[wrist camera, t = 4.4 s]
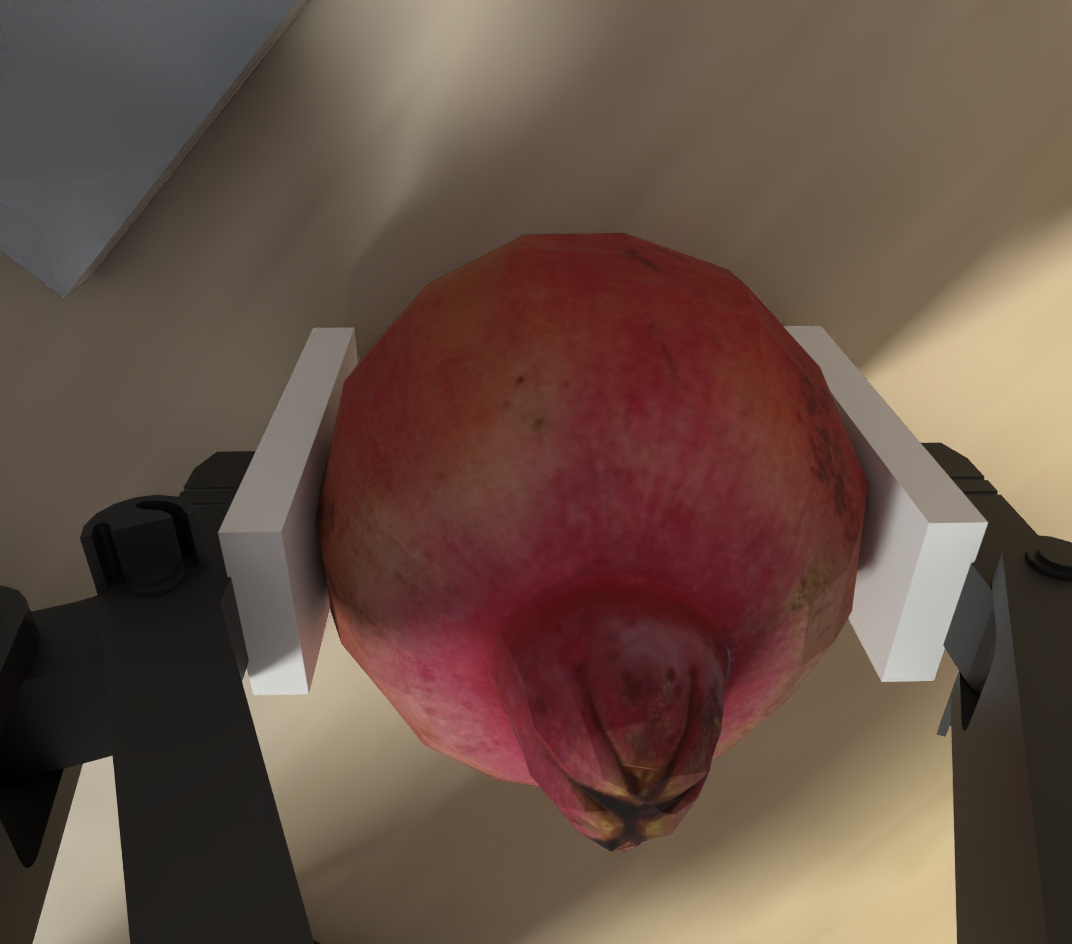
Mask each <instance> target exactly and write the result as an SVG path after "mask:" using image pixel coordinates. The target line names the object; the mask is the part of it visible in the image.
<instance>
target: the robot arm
mask: <svg viewBox="0 0 1072 944" xmlns="http://www.w3.org/2000/svg"><path fill="white" fill-rule="evenodd" d="M783 327H784V328H785V329H786V330H787V331H788V332H789V333H790V334H791V335H792V337H793V338H794V339H795V340H796V341H797V342H798V343H799V344H800V345H801V346H802V348H803V349H804V350H805V351H806V352H807V353H808V354H809V355H810V356H811V358H812V359H813V360H814V361H815V362H816V363H817V364H818V365H819V366H820V368H821V370H822V373H823V375H824V378H825V380H826V382H827V385H828V387H829V390H830V392H831V395H832V397H833V399H834V402H835V404H836V407H837V409H838V412H839V414H840V416H841V419H842V421H843V424H844V426H845V429H846V431H847V433H848V436H849V438H850V441H851V443H852V446H853V448H854V450H855V453H856V455H857V458H858V460H859V463H860V465H861V467H862V470H863V472H864V475H865V477H866V480H867V482H868V488H867V496H866V504H865V512H864V520H863V528H862V536H861V543H860V551H859V559H858V567H857V575H856V583H855V591H854V599H853V607H852V612H851V614H850V615H849V617H848V619H849V621H850V623H851V625H852V626H853V628H854V630H855V632H856V634H857V636H858V638H859V640H860V642H861V644H862V646H863V648H864V649H865V651H866V653H867V655H868V657H869V659H870V661H871V663H872V665H873V667H874V669H875V670H876V672H877V674H878V676H879V678H880V680H881V682H902V681H934V679H935V676H936V673H937V670H938V668H939V665H940V662H941V659H942V656H943V653H944V650H945V649H946V650H947V652H948V654H949V655H950V657H951V658H952V660H953V661H954V663H955V664H956V666H957V668H958V669H959V673H958V675H957V678H956V681H955V684H954V686H953V689H952V692H951V695H950V698H949V700H948V703H947V706H946V709H945V711H944V714H943V717H942V720H941V723H940V726H939V729H938V732H937V735H941V736H946V733H947V731H948V728H949V726H952V765H953V803H954V842H955V880H956V918H957V944H1072V543H1071V542H1068V541H1064V540H1061V539H1058V538H1054V537H1049V536H1039V535H1037V534H1036V533H1035V531H1034V530H1033V529H1032V528H1031V527H1030V526H1029V525H1028V524H1027V523H1026V522H1025V521H1024V519H1023V518H1022V517H1021V516H1020V515H1019V514H1018V513H1017V512H1016V511H1015V510H1014V508H1013V507H1012V506H1011V505H1010V504H1009V503H1008V502H1007V501H1006V500H1005V499H1004V498H1003V496H1002V495H998V494H997V492H998V491H997V490H996V489H995V488H994V487H993V486H992V484H991V483H990V482H989V481H988V480H984V476H983V475H982V474H981V472H980V471H979V470H978V469H977V468H976V467H975V466H974V465H973V464H972V463H971V462H970V460H969V459H968V458H966V457H964V456H963V455H961V454H959V453H958V452H956V451H954V450H952V449H951V448H949V447H947V446H946V445H944V444H942V443H920V442H919V441H918V439H917V438H916V437H915V436H914V435H913V433H912V432H911V431H910V430H909V429H908V428H907V426H906V425H905V424H904V423H903V422H902V421H901V419H900V418H899V417H898V416H897V415H896V413H895V412H894V411H893V410H892V409H891V408H890V406H889V405H888V404H887V403H886V402H885V401H884V399H883V398H882V397H881V396H880V395H879V393H878V392H877V391H876V390H875V389H874V388H873V386H872V385H871V384H870V383H869V382H868V381H867V379H866V378H865V377H864V376H863V375H862V373H861V372H860V371H859V370H858V369H857V368H856V366H855V365H854V364H853V363H852V362H851V361H850V359H849V358H848V357H847V356H846V355H845V354H844V352H843V351H842V350H841V349H840V348H839V346H838V345H837V344H836V343H835V342H834V341H833V339H832V338H831V337H830V336H829V335H828V334H827V332H826V331H825V330H824V329H823V328H822V326H783ZM357 365H358V357H357V347H356V337H355V328H313V329H312V332H311V334H310V336H309V338H308V340H307V342H306V344H305V347H304V349H303V351H302V353H301V355H300V357H299V360H298V362H297V364H296V366H295V368H294V370H293V372H292V375H291V377H290V379H289V381H288V383H287V385H286V388H285V390H284V392H283V394H282V396H281V398H280V400H279V403H278V405H277V407H276V409H275V411H274V413H273V415H272V418H271V420H270V422H269V424H268V426H267V428H266V431H265V433H264V435H263V437H262V439H261V441H260V443H259V446H258V448H257V450H256V451H237V452H216V453H215V454H213V455H212V456H211V457H209V458H208V459H207V460H205V461H204V462H203V463H201V464H200V465H199V466H197V467H196V468H195V469H194V470H193V472H192V474H191V476H190V478H189V479H188V481H187V483H186V485H185V486H184V491H182V492H181V493H180V495H179V497H175V496H164V495H152V496H144V497H135V498H132V499H129V500H126V501H122V502H119V503H116V504H113V505H112V506H110V507H108V508H106V509H104V510H102V511H101V512H99V513H97V514H95V515H94V516H93V517H92V518H91V519H90V520H89V521H88V522H87V523H86V524H85V525H84V527H83V530H82V533H81V537H80V539H81V543H82V546H83V549H84V552H85V555H86V558H87V561H88V565H89V568H90V571H91V574H92V577H93V580H94V584H95V587H96V590H97V593H98V595H97V596H94V597H92V598H88V599H85V600H81V601H78V602H74V603H70V604H65V605H60V606H56V607H51V608H46V609H42V610H37V611H33V612H31V611H30V608H29V605H28V603H27V600H26V599H25V598H24V597H23V595H22V594H21V593H20V592H19V591H18V590H15V589H12V588H8V587H5V586H0V944H32V943H33V940H34V936H35V933H36V929H37V925H38V922H39V918H40V915H41V911H42V908H43V904H44V900H45V897H46V893H47V890H48V886H49V883H50V879H51V875H52V872H53V868H54V865H55V861H56V857H57V854H58V850H59V847H60V843H61V840H62V836H63V832H64V829H65V825H66V822H67V818H68V815H69V811H70V807H71V804H72V800H73V797H74V793H75V790H76V786H77V782H78V779H79V775H80V772H81V768H82V765H83V763H87V762H90V761H94V760H98V759H101V758H105V757H109V756H112V755H113V764H114V774H115V785H116V796H117V806H118V817H119V828H120V838H121V849H122V860H123V870H124V881H125V892H126V902H127V913H128V924H129V934H130V944H314V941H313V938H312V934H311V930H310V927H309V923H308V919H307V916H306V912H305V909H304V905H303V901H302V898H301V894H300V890H299V887H298V883H297V880H296V876H295V872H294V869H293V865H292V861H291V858H290V854H289V851H288V847H287V843H286V840H285V836H284V832H283V829H282V825H281V822H280V818H279V814H278V811H277V807H276V803H275V800H274V796H273V793H272V789H271V785H270V782H269V778H268V774H267V771H266V767H265V764H264V760H263V756H262V753H261V749H260V745H259V742H258V738H257V735H256V731H255V727H254V724H253V720H252V717H251V713H250V709H249V706H248V702H247V698H246V695H245V691H244V688H243V684H242V680H243V677H244V674H245V671H246V668H247V670H248V674H249V679H250V684H251V688H252V693H253V695H288V694H309V691H310V687H311V683H312V679H313V675H314V671H315V667H316V662H317V658H318V654H319V650H320V646H321V642H322V638H323V634H324V630H325V626H326V622H327V617H328V613H329V609H330V602H329V596H328V589H327V583H326V576H325V570H324V564H323V557H322V551H321V544H320V538H319V531H318V525H317V513H318V507H319V501H320V495H321V489H322V484H323V478H324V473H325V468H326V464H327V459H328V454H329V450H330V445H331V440H332V435H333V431H334V426H335V421H336V416H337V412H338V407H339V402H340V397H341V393H342V388H343V383H344V381H345V380H346V378H347V377H348V376H349V375H350V373H351V372H352V371H353V370H354V368H355V367H356V366H357Z"/></svg>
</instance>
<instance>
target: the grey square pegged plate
mask: <svg viewBox="0 0 1072 944" xmlns="http://www.w3.org/2000/svg"><path fill="white" fill-rule="evenodd" d="M308 1H309V0H0V251H1V252H3V253H4V254H5V255H7V256H8V257H9V258H11V259H12V260H13V261H15V262H16V263H17V264H19V265H20V266H21V267H23V268H24V269H25V270H27V271H28V272H29V273H31V274H32V275H33V276H35V277H36V278H37V279H39V280H40V281H41V282H43V283H44V284H45V285H47V286H48V287H49V288H51V289H52V290H53V291H55V292H56V293H57V294H59V295H60V296H61V297H63V298H65V297H66V296H67V295H68V294H70V293H71V292H72V291H73V290H75V289H76V288H77V287H78V286H80V285H81V284H82V283H83V282H85V281H86V280H87V279H88V278H90V277H91V276H92V275H93V273H94V272H95V271H96V270H97V268H98V267H99V266H100V265H101V263H102V262H103V261H104V260H105V258H106V257H107V256H108V255H109V253H110V252H111V251H112V249H113V248H114V247H115V246H116V244H117V243H118V242H119V241H120V239H121V238H122V237H123V236H124V234H125V233H126V232H127V230H128V229H129V228H130V227H131V225H132V224H133V223H134V222H135V220H136V219H137V218H138V217H139V215H140V214H141V213H142V211H143V210H144V209H145V208H146V206H147V205H148V204H149V203H150V201H151V200H152V199H153V198H154V196H155V195H156V194H157V192H158V191H159V190H160V189H161V187H162V186H163V185H164V184H165V182H166V181H167V180H168V179H169V177H170V176H171V175H172V173H173V172H174V171H175V170H176V168H177V167H178V166H179V165H180V163H181V162H182V161H183V160H184V158H185V157H186V156H187V155H188V153H189V152H190V151H191V149H192V148H193V147H194V146H195V144H196V143H197V142H198V141H199V139H200V138H201V137H202V136H203V134H204V133H205V132H206V130H207V129H208V128H209V127H210V125H211V124H212V123H213V122H214V120H215V119H216V118H217V117H218V115H219V114H220V113H221V111H222V110H223V109H224V108H225V106H226V105H227V104H228V103H229V101H230V100H231V99H232V98H233V96H234V95H235V94H236V92H237V91H238V90H239V89H240V87H241V86H242V85H243V84H244V82H245V81H246V80H247V79H248V77H249V76H250V75H251V73H252V72H253V71H254V70H255V68H256V67H257V66H258V65H259V63H260V62H261V61H262V60H263V58H264V57H265V56H266V55H267V53H268V52H269V51H270V49H271V48H272V47H273V46H274V44H275V43H276V42H277V41H278V39H279V38H280V37H281V36H282V34H283V33H284V32H285V30H286V29H287V28H288V27H289V25H290V24H291V23H292V22H293V20H294V19H295V18H296V17H297V15H298V14H299V13H300V11H301V10H302V9H303V8H304V6H305V5H306V4H307V3H308Z"/></svg>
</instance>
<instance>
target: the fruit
mask: <svg viewBox="0 0 1072 944" xmlns="http://www.w3.org/2000/svg"><path fill="white" fill-rule="evenodd" d="M867 488H868V482H867V480H866V477H865V475H864V472H863V470H862V467H861V465H860V463H859V460H858V458H857V455H856V453H855V450H854V448H853V446H852V443H851V441H850V438H849V436H848V433H847V431H846V429H845V426H844V424H843V421H842V419H841V416H840V414H839V412H838V409H837V407H836V404H835V402H834V399H833V397H832V395H831V392H830V390H829V387H828V385H827V382H826V380H825V378H824V375H823V373H822V370H821V368H820V366H819V365H818V364H817V363H816V362H815V361H814V360H813V359H812V358H811V356H810V355H809V354H808V353H807V352H806V351H805V350H804V349H803V348H802V346H801V345H800V344H799V343H798V342H797V341H796V340H795V339H794V338H793V337H792V335H791V334H790V333H789V332H788V331H787V330H786V329H785V328H784V327H783V325H782V324H781V323H780V322H779V321H778V320H777V319H776V318H775V317H774V316H773V314H772V313H771V312H770V311H769V310H768V309H767V308H766V307H765V306H764V304H763V303H762V302H761V301H760V300H759V299H758V298H757V297H756V296H755V294H754V293H753V292H752V291H751V290H750V289H749V288H748V287H747V286H746V285H745V284H744V283H743V282H742V281H741V280H740V279H739V278H737V277H736V276H735V275H734V274H733V273H731V272H730V271H729V270H728V269H725V268H722V267H719V266H716V265H714V264H711V263H708V262H705V261H702V260H699V259H696V258H694V257H691V256H688V255H685V254H682V253H679V252H676V251H674V250H671V249H668V248H665V247H662V246H659V245H656V244H654V243H651V242H648V241H645V240H642V239H639V238H637V237H634V236H631V235H628V234H625V233H597V234H534V235H523V236H521V237H519V238H517V239H515V240H513V241H511V242H509V243H507V244H505V245H503V246H501V247H499V248H497V249H495V250H493V251H491V252H490V253H488V254H486V255H484V256H482V257H480V258H478V259H476V260H474V261H472V262H470V263H468V264H466V265H464V266H462V267H460V268H458V269H456V270H454V271H452V272H450V273H448V274H446V275H444V276H442V277H440V278H438V279H437V280H435V281H433V282H431V283H429V284H427V285H426V286H425V287H424V288H423V290H422V291H421V292H420V293H419V294H418V295H417V296H416V298H415V299H414V300H413V301H412V302H411V303H410V304H409V306H408V307H407V308H406V309H405V310H404V311H403V312H402V313H401V315H400V316H399V317H398V318H397V319H396V320H395V321H394V323H393V324H392V325H391V326H390V327H389V328H388V329H387V331H386V332H385V333H384V334H383V335H382V336H381V337H380V339H379V340H378V341H377V342H376V343H375V344H374V345H373V347H372V348H371V349H370V350H369V351H368V352H367V353H366V354H365V356H364V357H363V358H362V359H361V361H360V362H359V363H358V365H357V366H356V367H355V368H354V370H353V371H352V372H351V373H350V375H349V376H348V377H347V378H346V380H345V381H344V383H343V388H342V393H341V397H340V402H339V407H338V412H337V416H336V421H335V426H334V431H333V435H332V440H331V445H330V450H329V454H328V459H327V464H326V468H325V473H324V478H323V484H322V489H321V495H320V501H319V507H318V513H317V525H318V531H319V538H320V544H321V551H322V557H323V564H324V570H325V576H326V583H327V589H328V596H329V602H330V609H331V613H332V616H333V619H334V622H335V625H336V629H337V632H338V635H339V638H340V641H341V644H342V645H343V646H344V647H345V648H346V650H347V651H348V652H349V653H350V654H351V656H352V657H353V658H354V659H355V660H356V662H357V663H358V664H359V665H360V666H361V668H362V669H363V670H364V671H365V672H366V674H367V675H368V676H369V677H370V678H371V680H372V681H373V682H374V683H375V684H376V686H377V687H378V688H379V689H380V690H381V692H382V693H383V694H384V695H385V696H386V698H387V699H388V700H389V701H390V703H391V704H392V705H393V706H394V708H395V709H396V710H397V711H398V713H399V714H400V715H401V716H402V718H403V719H404V720H405V721H406V723H407V724H408V725H409V726H410V728H411V729H412V730H413V731H414V733H415V734H416V735H417V737H418V738H419V739H420V740H421V742H422V743H423V744H424V745H426V746H428V747H430V748H432V749H434V750H436V751H439V752H441V753H443V754H445V755H447V756H449V757H451V758H453V759H455V760H457V761H459V762H461V763H463V764H465V765H467V766H469V767H471V768H474V769H476V770H478V771H480V772H482V773H484V774H486V775H488V776H490V777H492V778H494V779H496V780H498V781H506V782H513V783H520V784H527V785H534V786H540V787H541V788H542V790H543V791H544V792H545V793H546V794H547V796H548V797H549V798H550V799H551V800H552V801H553V803H554V804H555V805H556V806H557V807H558V808H559V810H560V811H561V812H562V813H563V814H564V816H565V817H566V818H567V819H568V820H569V821H570V823H571V824H572V825H573V826H574V827H575V828H576V830H577V831H579V832H580V833H582V834H583V835H585V836H587V837H588V838H590V839H591V840H593V841H595V842H596V843H598V844H600V845H601V846H603V847H604V848H606V849H608V850H609V851H615V850H622V851H627V850H629V849H631V848H633V847H636V846H638V845H639V844H640V843H641V842H643V841H646V840H648V839H651V838H655V837H660V836H664V835H668V834H672V833H673V832H674V830H675V829H676V827H677V826H678V824H679V823H680V822H681V820H682V819H683V817H684V816H685V814H686V813H687V812H688V810H689V809H690V807H691V806H692V805H693V803H694V802H695V800H696V799H697V797H698V796H699V793H700V791H701V789H702V787H703V784H704V782H705V780H706V778H707V775H708V773H709V771H710V766H711V761H712V760H713V759H715V758H717V757H719V756H720V755H722V754H723V753H725V752H726V751H728V750H729V749H731V748H732V747H733V746H734V745H735V744H736V743H737V742H739V741H740V740H741V739H742V738H743V737H744V736H745V735H747V734H748V733H749V732H750V731H751V730H752V729H753V728H755V727H756V726H757V725H758V724H759V723H760V722H762V721H763V720H764V719H765V718H767V717H768V716H769V715H770V714H771V713H772V712H773V711H775V710H776V709H777V708H778V707H779V706H780V705H781V704H782V703H783V702H784V701H786V700H787V699H788V698H789V696H790V695H791V694H792V693H793V691H794V690H795V689H796V688H797V687H798V685H799V684H800V683H801V682H802V680H803V679H804V678H805V677H806V676H807V674H808V673H809V672H810V671H811V669H812V668H813V667H814V666H815V665H816V663H817V662H818V661H819V660H820V659H821V657H822V656H823V655H824V654H825V652H826V651H827V650H828V649H829V648H830V646H831V645H832V644H833V642H834V640H835V639H836V637H837V635H838V634H839V632H840V630H841V629H842V627H843V625H844V624H845V622H846V620H847V619H848V617H849V615H850V614H851V612H852V607H853V599H854V591H855V583H856V575H857V567H858V559H859V551H860V543H861V536H862V528H863V520H864V512H865V504H866V496H867Z"/></svg>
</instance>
